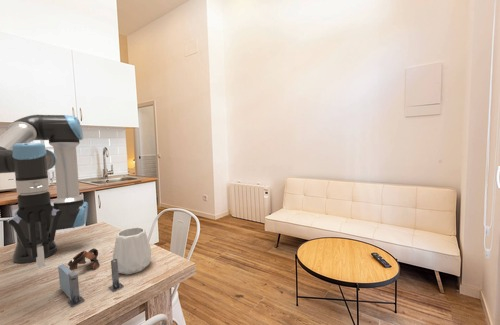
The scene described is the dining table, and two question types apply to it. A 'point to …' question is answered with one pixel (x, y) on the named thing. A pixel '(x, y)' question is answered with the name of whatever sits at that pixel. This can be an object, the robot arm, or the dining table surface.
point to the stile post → (115, 276)
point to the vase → (132, 250)
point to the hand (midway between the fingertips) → (40, 265)
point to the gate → (66, 279)
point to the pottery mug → (81, 259)
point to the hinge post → (75, 293)
